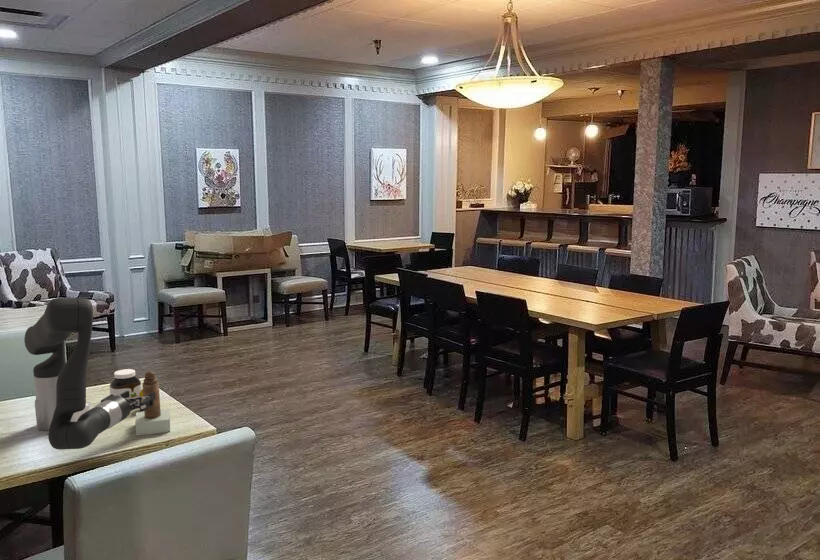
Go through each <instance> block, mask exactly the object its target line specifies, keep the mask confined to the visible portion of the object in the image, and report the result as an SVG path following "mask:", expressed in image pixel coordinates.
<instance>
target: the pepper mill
mask: <svg viewBox="0 0 820 560" xmlns="http://www.w3.org/2000/svg"><path fill="white" fill-rule="evenodd" d="M156 376H157V375H156V373H155V372H154V371H152V370H148V371H146V372H145V374H144V379H143V382H141V385H142V389H143V397H144V396H147V395H148V394H150V393H152V392H153V393H155V399H154V405H153V406H152V407H150V408H148V409H146V410H145V411H143V412H144V414H145V418H147V419H154V418H158V417H160V416H161V411H160V410H161V399H160V384H159V383H160V381H158V378H157V377H156ZM143 400H145V399H143Z"/></svg>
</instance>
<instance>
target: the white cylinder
mask: <svg viewBox="0 0 820 560" xmlns="http://www.w3.org/2000/svg"><path fill="white" fill-rule="evenodd" d="M90 409H92V403H91V402H90V401H86V406H85V409H83V410H82V411H79V412H76V413H74V414H73V416H72V418H71V422H76V421H77V420H78V418H79V417H80V416H81V415H82V414H83V413H85V412H87V411H89V410H90Z"/></svg>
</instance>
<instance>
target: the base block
mask: <svg viewBox="0 0 820 560" xmlns="http://www.w3.org/2000/svg"><path fill="white" fill-rule="evenodd" d="M160 411H161V416H160V417H158V418H154V419H147V418H145V414H144V411H137V412H136V413H135V436H144V435H151V434H160V433H161V432H162V433H167V432H168V431H170V432H171V413H170V408H163V409H160ZM168 433H169V432H168Z"/></svg>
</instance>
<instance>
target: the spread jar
mask: <svg viewBox="0 0 820 560" xmlns="http://www.w3.org/2000/svg"><path fill="white" fill-rule="evenodd" d="M113 375H114V378H113V379H112V380H111V381H110V384H109V395H111V394H112V395H114V396H116V395H117V394H122V393H124V392H125V391H129V397H130V398H133V397H137V396H139V393H140V391H141V390H142V389H143V385H142V382H141V380H140V379H139V377H138V376H137V375H136V370H135V369H130V368H127V369H125V368H124V369H119V370H116V371H115V372H114V373H113ZM136 404H138V399H137V400H136Z"/></svg>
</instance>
